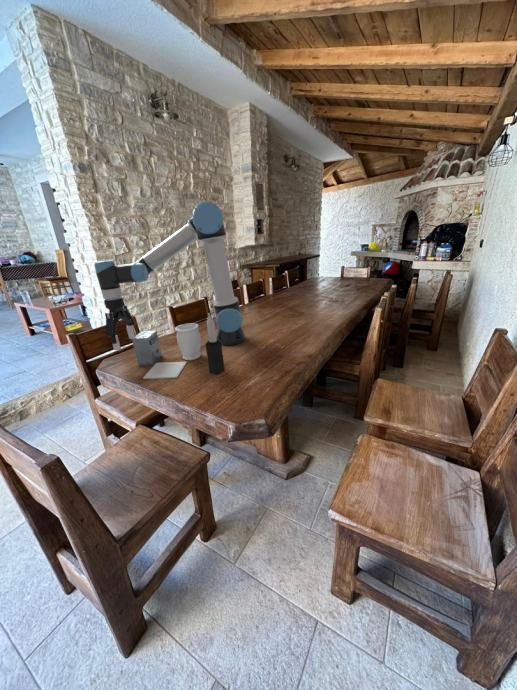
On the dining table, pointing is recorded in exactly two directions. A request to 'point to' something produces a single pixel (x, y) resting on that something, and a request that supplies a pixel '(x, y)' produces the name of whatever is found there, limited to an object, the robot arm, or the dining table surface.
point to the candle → (214, 349)
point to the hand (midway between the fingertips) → (125, 344)
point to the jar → (189, 340)
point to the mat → (165, 370)
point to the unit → (147, 347)
